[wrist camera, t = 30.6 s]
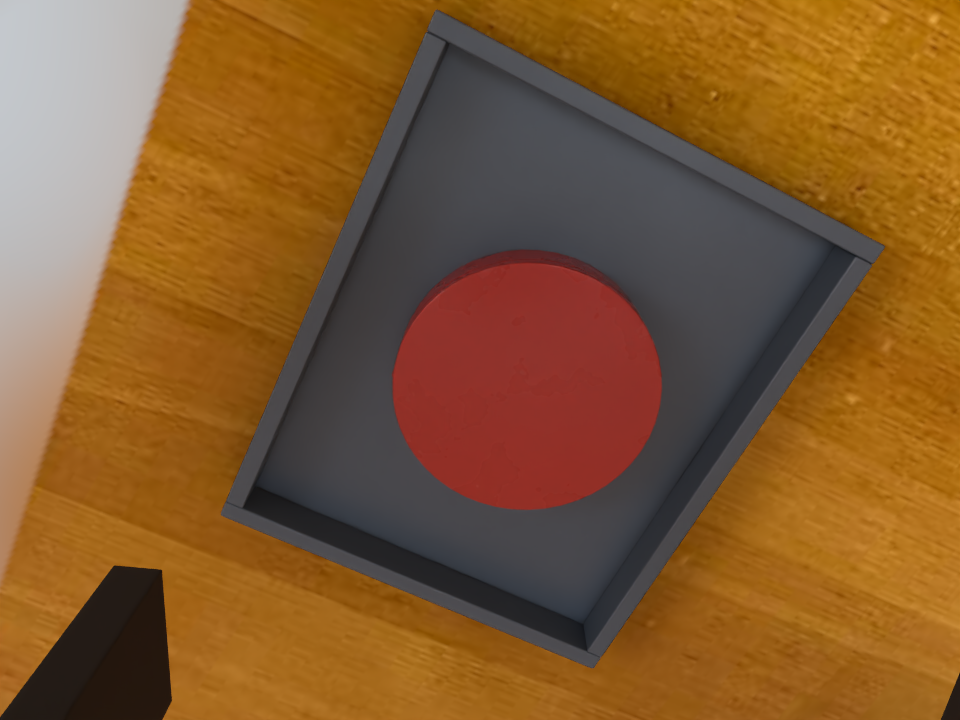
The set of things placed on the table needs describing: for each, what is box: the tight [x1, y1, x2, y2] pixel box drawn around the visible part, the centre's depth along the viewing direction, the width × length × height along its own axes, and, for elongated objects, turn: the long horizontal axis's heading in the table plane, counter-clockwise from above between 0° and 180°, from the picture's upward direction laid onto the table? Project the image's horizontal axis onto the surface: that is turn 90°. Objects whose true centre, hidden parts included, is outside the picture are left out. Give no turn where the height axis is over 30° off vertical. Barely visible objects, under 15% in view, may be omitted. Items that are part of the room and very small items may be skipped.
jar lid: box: [392, 250, 662, 510], centre depth 25 cm, size 8×8×2 cm
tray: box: [221, 10, 885, 668], centre depth 25 cm, size 17×14×2 cm
